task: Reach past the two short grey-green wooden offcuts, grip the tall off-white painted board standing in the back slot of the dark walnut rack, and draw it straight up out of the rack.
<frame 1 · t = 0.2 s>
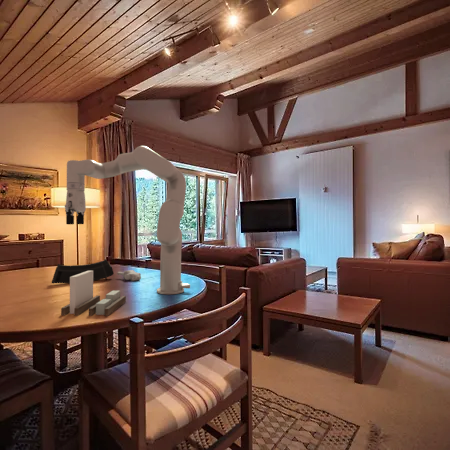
hand: (75, 224, 140), 31 cm above the table, tool pointing down, fingers open, 9 cm apart
rack: (95, 308, 112), on the table
small offcut: (103, 312, 108), on the table
bunny figurine: (129, 279, 168), on the table
tall sheet: (82, 308, 112), on the table
large offcut: (113, 305, 117), on the table
magazine: (84, 282, 161), on the table
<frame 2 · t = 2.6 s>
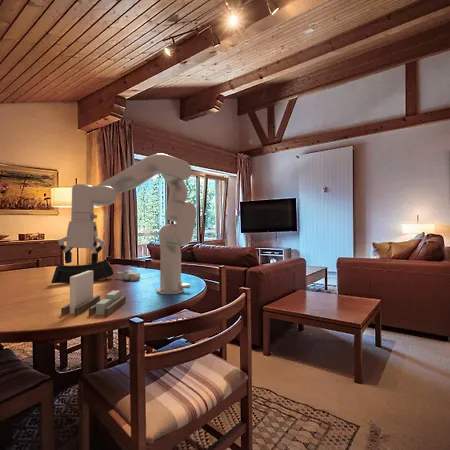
hand: (81, 263, 112), 17 cm above the table, tool pointing down, fingers open, 9 cm apart
nothing on the table moved.
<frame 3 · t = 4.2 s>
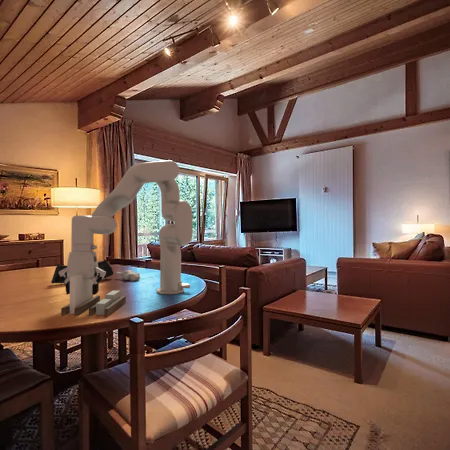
hand: (82, 293, 112), 5 cm above the table, tool pointing down, fingers open, 9 cm apart
nothing on the table moved.
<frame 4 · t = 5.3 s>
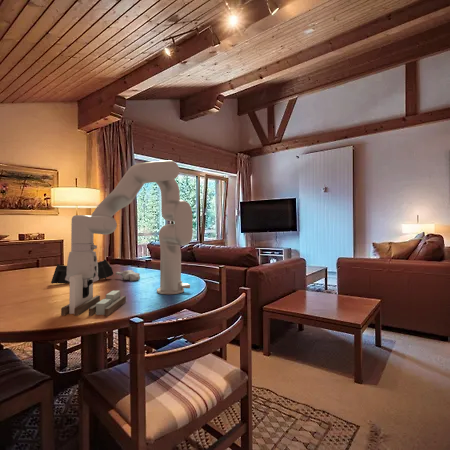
hand: (81, 296, 112), 4 cm above the table, tool pointing down, fingers closed on tall sheet, 2 cm apart
tall sheet: (81, 308, 112), on the table, touching gripper
everything else where it was.
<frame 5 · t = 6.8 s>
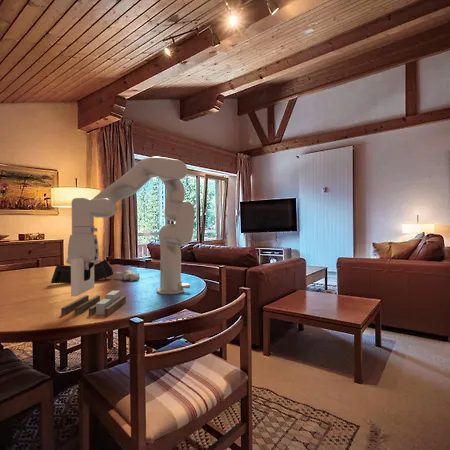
hand: (83, 279, 113), 11 cm above the table, tool pointing down, fingers closed on tall sheet
tall sheet: (83, 291, 113), point 6 cm above the table, touching gripper
everything else where it was.
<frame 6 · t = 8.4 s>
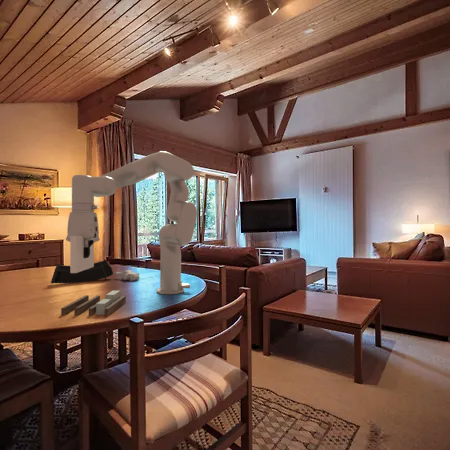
hand: (82, 257, 112), 19 cm above the table, tool pointing down, fingers closed on tall sheet
tall sheet: (82, 269, 112), point 14 cm above the table, touching gripper
everything else where it was.
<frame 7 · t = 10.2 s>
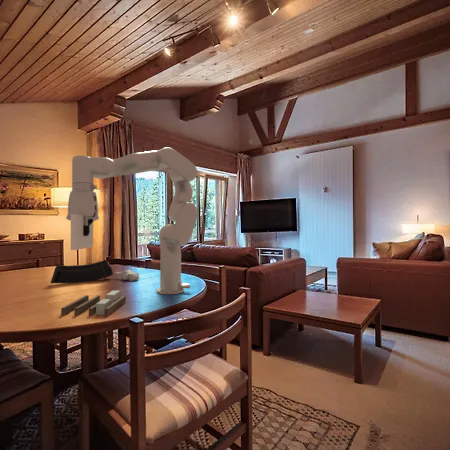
hand: (82, 235, 116), 27 cm above the table, tool pointing down, fingers closed on tall sheet
tall sheet: (82, 248, 116), point 22 cm above the table, touching gripper
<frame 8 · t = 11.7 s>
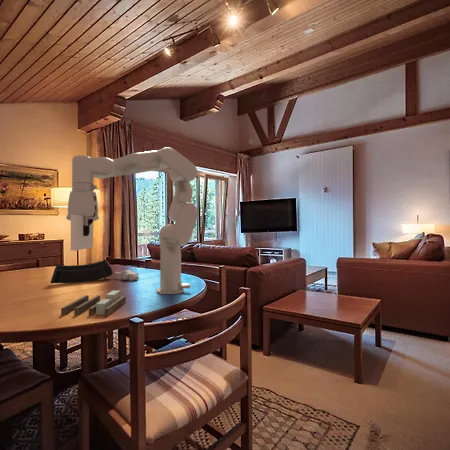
hand: (82, 235, 116), 27 cm above the table, tool pointing down, fingers closed on tall sheet
tall sheet: (82, 248, 116), point 22 cm above the table, touching gripper
at the end: the gripper is holding tall sheet; tall sheet point 21.9 cm above the table; large offcut moved 0.1 cm from its start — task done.
